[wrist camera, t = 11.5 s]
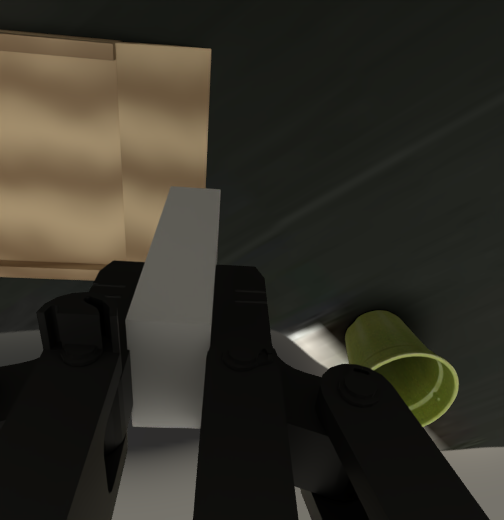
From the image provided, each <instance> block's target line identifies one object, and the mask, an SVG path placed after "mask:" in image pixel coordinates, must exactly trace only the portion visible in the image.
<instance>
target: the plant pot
mask: <svg viewBox="0 0 504 520" xmlns="http://www.w3.org/2000/svg"><path fill="white" fill-rule="evenodd" d="M345 343H346V349H347V354H348V360H349V364H357V365H360V366H364V367H368V368H370V369H372V370H374V371H376V372H378V373H379V374H381V375H383V376H384V377H385V378H386V379H387V380H388V381H389V382H390V383H391V384H392V385H393V387H394V388H395V389H396V391H397V392H398V394H399V395H400V396H401V398H402V399H403V400H404V402H405V403H406V405H407V406H408V407H409V409H410V410H411V412H412V413H413V414H414V416H415V417H416V418H417V420H418V421H419V423H420V424H421V425H422V427H424V426H426V425H428V424H430V423H432V422H433V421H435V420H436V419H438V418H439V417H440V416H442V415H443V414H444V413H445V412H446V411H447V410H448V409H449V407H450V406H451V404H452V403H453V401H454V400H455V398H456V395H457V392H458V384H459V382H458V376H457V374H456V371H455V370H454V368H453V367H452V366H451V364H450V363H449V362H448V361H446V360H445V359H444V358H442V357H440V356H438V355H436V354H435V353H433V352H432V351H430V350H428V348H427V347H426V346H425V345H424V344H423V343H422V342H421V341H420V340H419V339H418V338H417V337H416V336H415V335H414V333H413V332H412V331H411V330H410V329H409V328H408V327H407V326H406V325H405V323H404V322H403V321H402V320H401V319H400V318H399V317H398V316H396V315H394V314H392V313H390V312H388V311H383V310H376V311H371V312H367V313H365V314H363V315H361V316H359V317H358V318H357V319H356V320H355V322H354V323H353V324H352V325H351V326H350V327H349V328H348V329H347V331H346V334H345Z"/></svg>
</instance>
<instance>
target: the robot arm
mask: <svg viewBox="0 0 504 520" xmlns="http://www.w3.org/2000/svg"><path fill="white" fill-rule="evenodd" d="M220 192H221V190H219V189H204V188H189V187H174V186H171V187H170V190H169V193H168V196H167V199H166V202H165V205H164V208H163V211H162V214H161V217H160V220H159V223H158V225H157V228H156V231H155V234H154V237H153V240H152V243H151V246H150V249H149V252H148V255H147V258H146V261H145V262H134V261H116V260H113V261H112V262H111V263H109V264H108V265H107V266H105V267H104V268H103V269H101V270H100V271H99V273H98V275H97V277H96V279H95V281H94V283H93V286H92V287H91V289H90V291H89V292H83V293H71V294H67V295H64V296H60V297H57V298H55V299H53V300H51V301H49V302H47V303H45V304H44V305H43V306H42V307H41V308H40V309H39V310H38V311H37V312H36V313H37V318H38V323H39V329H40V334H41V339H42V344H43V352H42V354H41V356H40V358H37V359H35V360H32V361H27V362H24V363H19V364H14V365H8V366H2V367H0V520H111V519H112V515H113V511H114V506H115V502H116V498H117V494H118V489H119V485H120V481H121V476H122V472H123V468H124V463H125V459H126V454H127V450H128V444H127V443H128V440H127V428H128V424H129V420H130V415H131V412H132V425H133V427H165V428H166V427H167V428H199V429H200V441H199V454H198V466H197V477H196V490H195V502H194V514H193V515H194V516H193V520H298V512H297V504H296V496H295V488H294V486H296V487H299V488H301V493H302V496H303V498H304V501H305V504H306V506H307V509H308V511H309V514H310V517H311V519H312V520H489V518H488V517H487V515H486V514H485V513H484V511H483V510H482V509H481V507H480V506H479V504H478V503H477V502H476V500H475V499H474V497H473V496H472V495H471V493H470V492H469V490H468V489H467V488H466V486H465V485H464V483H463V482H462V481H461V479H460V478H459V477H458V475H457V474H456V472H455V471H454V470H453V468H452V467H451V466H450V464H449V463H448V461H447V460H446V459H445V457H444V456H443V454H442V453H441V452H440V450H439V449H438V448H437V446H436V445H435V443H434V442H433V441H432V439H431V438H430V436H429V435H428V434H427V432H426V431H425V430H424V428H423V427H422V425H421V424H420V423H419V421H418V420H417V418H416V417H415V416H414V414H413V413H412V412H411V410H410V409H409V407H408V406H407V405H406V403H405V402H404V400H403V399H402V398H401V396H400V395H399V394H398V392H397V391H396V389H395V388H394V387H393V385H392V384H391V383H390V382H389V381H388V380H387V379H386V378H385V377H384V376H383V375H381V374H379V373H378V372H376V371H374V370H372V369H370V368H368V367H364V366H360V365H357V364H340V365H337V366H334V367H331V368H330V369H329V370H327V372H325V373H324V374H323V376H322V377H319V376H315V375H312V374H308V373H304V372H302V371H299V370H296V369H294V368H292V367H291V366H289V365H287V364H285V363H284V362H283V361H282V360H281V359H280V358H279V357H278V356H277V353H276V351H275V349H274V348H273V346H272V343H271V335H270V325H269V315H268V306H267V297H266V288H265V279H264V277H263V276H262V275H261V273H260V272H259V271H258V270H257V269H256V267H250V266H232V265H217V248H218V229H219V211H220Z"/></svg>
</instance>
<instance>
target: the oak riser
mask: <svg viewBox="0 0 504 520" xmlns="http://www.w3.org/2000/svg"><path fill="white" fill-rule="evenodd" d="M210 67H211V49H206V48H196V47H185V46H174V45H161V44H146V43H130V42H121V41H119V40H108V39H97V38H87V37H76V36H65V35H54V34H43V33H32V32H22V31H11V30H0V277H17V278H44V279H70V280H95V279H96V277H97V275H98V273H99V271H100V270H101V269H103V268H104V267H105V266H107V265H108V264H109V263H111V262H112V261H113V260H116V261H134V262H145V261H146V258H147V255H148V252H149V249H150V246H151V243H152V240H153V237H154V234H155V231H156V228H157V225H158V223H159V220H160V217H161V214H162V211H163V208H164V205H165V202H166V199H167V196H168V193H169V190H170V187H171V186H174V187H189V188H204V189H205V188H206V164H207V140H208V115H209V91H210Z"/></svg>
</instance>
